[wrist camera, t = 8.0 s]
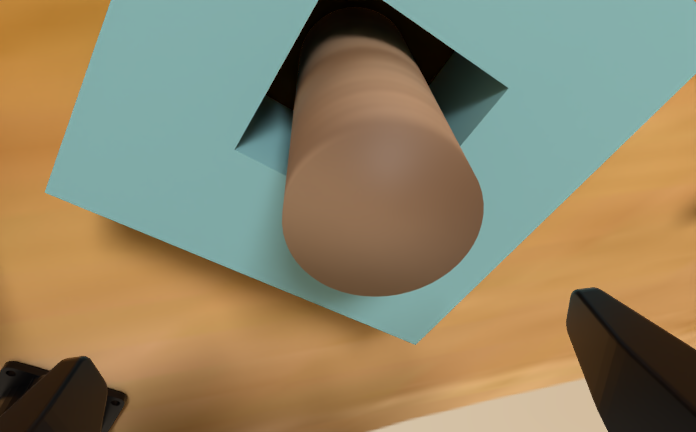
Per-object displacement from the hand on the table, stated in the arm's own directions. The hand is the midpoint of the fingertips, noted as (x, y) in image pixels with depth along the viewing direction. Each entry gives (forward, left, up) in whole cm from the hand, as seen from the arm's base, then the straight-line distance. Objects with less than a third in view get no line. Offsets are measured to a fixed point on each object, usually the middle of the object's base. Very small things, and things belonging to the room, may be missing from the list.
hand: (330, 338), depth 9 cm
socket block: (+2, 0, -12) cm, 12 cm away
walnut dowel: (+2, 0, -12) cm, 12 cm away
